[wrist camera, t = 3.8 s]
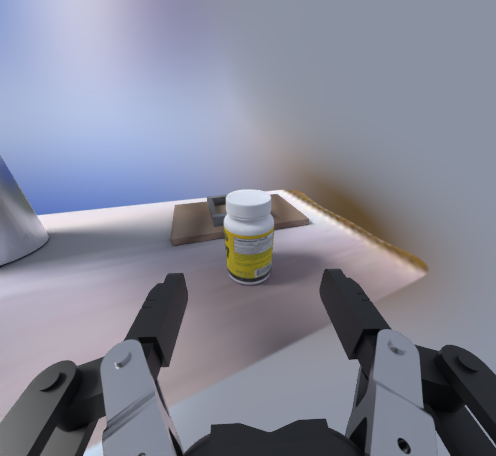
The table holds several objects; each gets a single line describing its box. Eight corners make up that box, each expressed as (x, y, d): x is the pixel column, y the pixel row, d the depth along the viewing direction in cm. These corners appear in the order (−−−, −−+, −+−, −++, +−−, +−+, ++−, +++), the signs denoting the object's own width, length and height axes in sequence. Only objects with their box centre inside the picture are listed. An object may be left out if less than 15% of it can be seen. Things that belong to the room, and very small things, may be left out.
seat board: (172, 245, 25) (168, 229, 23) (175, 210, 35) (173, 197, 34) (308, 224, 30) (310, 209, 28) (276, 198, 40) (277, 186, 38)
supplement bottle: (232, 255, 23) (228, 187, 19) (271, 258, 22) (276, 188, 18) (222, 284, 19) (214, 205, 15) (270, 288, 18) (276, 207, 14)
